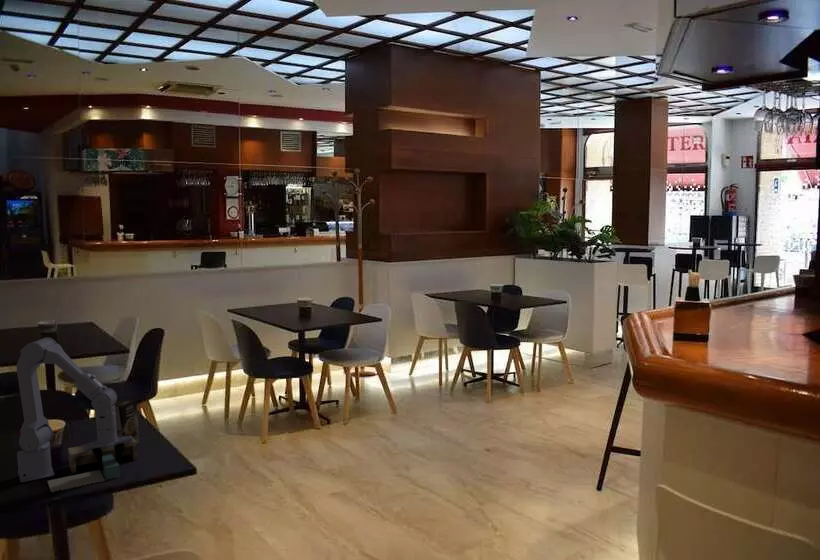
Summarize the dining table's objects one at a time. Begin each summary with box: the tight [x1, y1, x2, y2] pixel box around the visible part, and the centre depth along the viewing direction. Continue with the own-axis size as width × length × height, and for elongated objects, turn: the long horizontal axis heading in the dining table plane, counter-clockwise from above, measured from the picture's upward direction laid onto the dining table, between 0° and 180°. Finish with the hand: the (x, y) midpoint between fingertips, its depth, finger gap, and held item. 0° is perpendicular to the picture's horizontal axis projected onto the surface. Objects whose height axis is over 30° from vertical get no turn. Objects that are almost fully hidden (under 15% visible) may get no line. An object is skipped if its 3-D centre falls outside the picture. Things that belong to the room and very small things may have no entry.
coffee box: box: [112, 399, 140, 445], centre depth 245 cm, size 9×6×16 cm
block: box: [98, 454, 121, 481], centre depth 221 cm, size 4×12×4 cm, turn 34°
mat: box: [47, 469, 106, 493], centre depth 214 cm, size 15×10×1 cm, turn 123°
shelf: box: [67, 437, 138, 474], centre depth 229 cm, size 20×7×6 cm, turn 123°
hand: (109, 468), depth 221 cm, fingers closed on block, 4 cm apart
